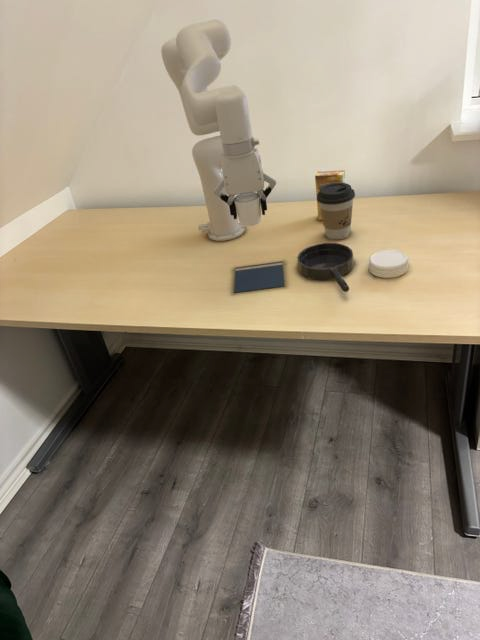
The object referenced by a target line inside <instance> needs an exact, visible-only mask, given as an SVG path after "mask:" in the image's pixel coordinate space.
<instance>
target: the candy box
mask: <svg viewBox="0 0 480 640" xmlns="http://www.w3.org/2000/svg"><path fill="white" fill-rule="evenodd" d="M314 178H315V179H314V181H315V192H316V193H315V195H316V196H317V194H318V193H319V190H320V188H321V187H323V186H325V185H327V184H331V183H346V171H345V170H329V171H328V170H327V171H317V172H316V173H315V175H314ZM316 203H317V204H316V207H317V218H318V219H317V220H318V221H323V219H322V214H321V209H320V205H319V202H318V201H317V200H316Z"/></svg>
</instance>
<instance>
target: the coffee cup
mask: <svg viewBox="0 0 480 640" xmlns="http://www.w3.org/2000/svg"><path fill="white" fill-rule="evenodd" d="M355 197H356V193H355V190H354V189H353V188H352V186H351V185H350V184H349V183H347V182H345V183H331V184H327V185H325V186H323V187H321V188H320V190H319V193H318V194H317V195H316V202H317V201H318V202H319V205H320V209H321V214H322V219H323V220H322V222H323V228H324V232H325V233H324V234H325V235H326V238H328V239H329V240H336V241H337V240H344V239H346V238H348V237H349V236H350V233H351V226H352V217H353V206H354V198H355Z"/></svg>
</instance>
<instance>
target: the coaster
mask: <svg viewBox="0 0 480 640" xmlns="http://www.w3.org/2000/svg"><path fill="white" fill-rule="evenodd" d="M408 269H409V257H408V255H407V254H406V253H404V252H403V251H401V250H397V249H382V250H379V251H376V252H374V253H372V254H371V255H370V256H369V258H368V270H369V272H370V274H371V275H373V276H375V277H377V278H381V279H393V278H397V277H398V278H399V277H400V276H403V275H404V274H405V273H406V272H407V271H408Z"/></svg>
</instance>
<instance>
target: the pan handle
mask: <svg viewBox="0 0 480 640" xmlns="http://www.w3.org/2000/svg"><path fill="white" fill-rule="evenodd" d="M330 272H331V273H332V275H333V277H334V278H335V279H334V280H335V282H336V283H337V284H338V286H339V287H340V289H341V290H342V292H343V293H347V292H349V290H350V286H349V285H348V283H347V282H346V280H345V279H344V277H343V276H341V274H340V273H339V271H338V270H337V268H336V267H335V268H334V267H333V268H330Z"/></svg>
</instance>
